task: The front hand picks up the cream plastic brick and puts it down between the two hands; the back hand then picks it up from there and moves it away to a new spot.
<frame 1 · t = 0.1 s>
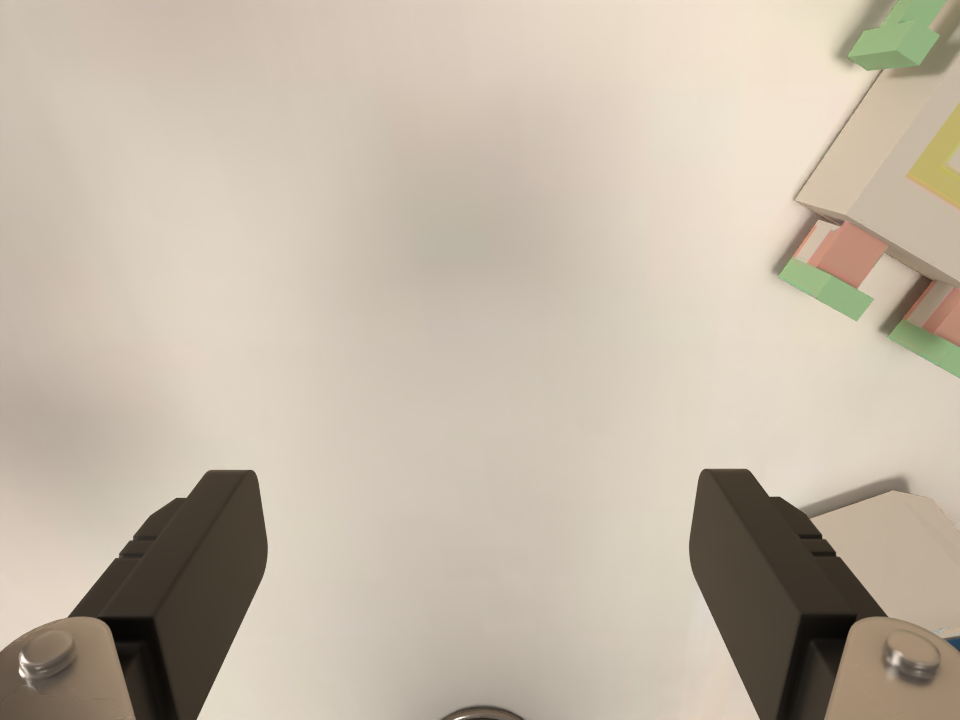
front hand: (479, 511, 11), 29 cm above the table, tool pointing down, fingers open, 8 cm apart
electronic device: (829, 539, 47), on the table
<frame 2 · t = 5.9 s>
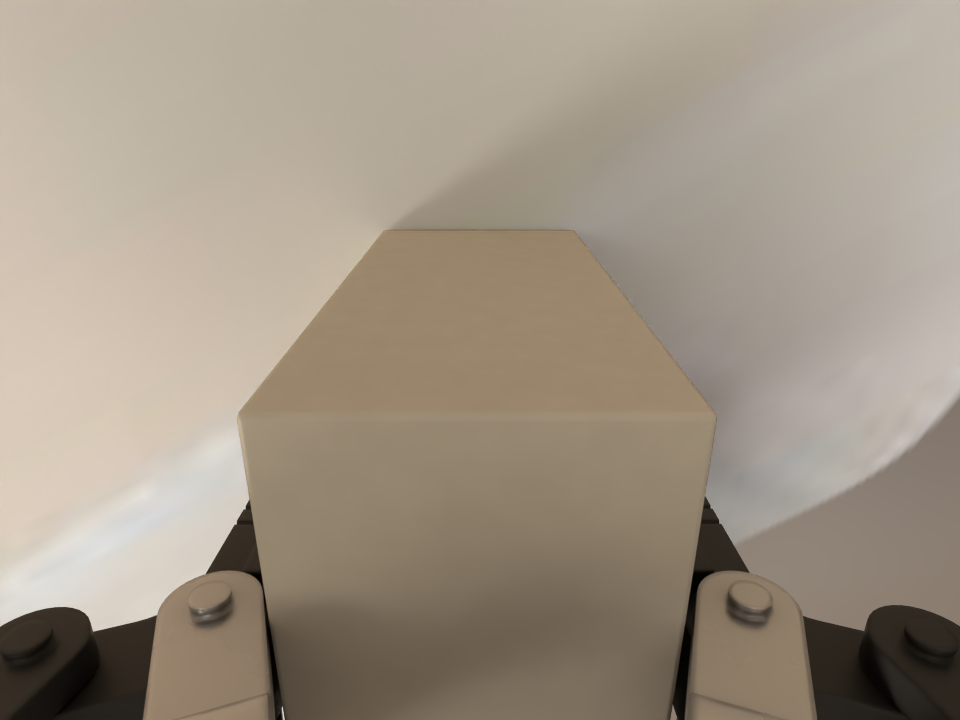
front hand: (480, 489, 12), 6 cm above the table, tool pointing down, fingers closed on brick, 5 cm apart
brick: (479, 369, 18), on the table, touching front hand
when the front hand's fingers open (8 cm above the table, at t = 13.4 s): brick drops 2 cm, on the table.
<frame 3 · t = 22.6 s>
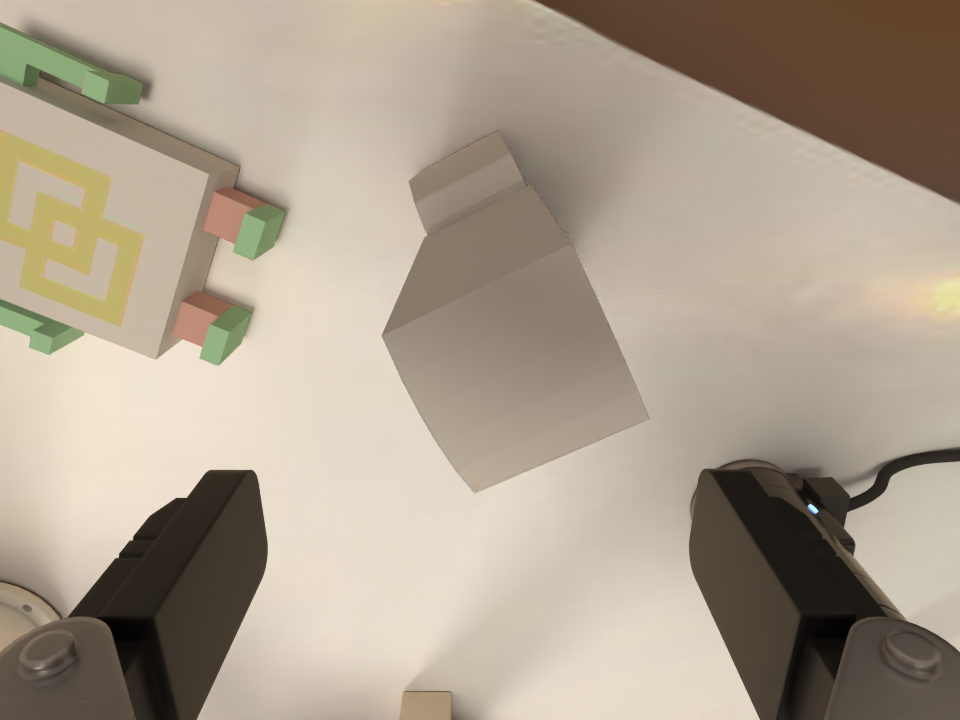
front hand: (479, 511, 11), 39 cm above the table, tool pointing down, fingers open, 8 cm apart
brick: (428, 718, 67), on the table, touching back hand
decorative block: (104, 207, 48), on the table
electronic device: (492, 228, 48), on the table
when the back hand's fingers open (7 cm above the table, at t = 35.3 s): brick drops 1 cm, on the table.
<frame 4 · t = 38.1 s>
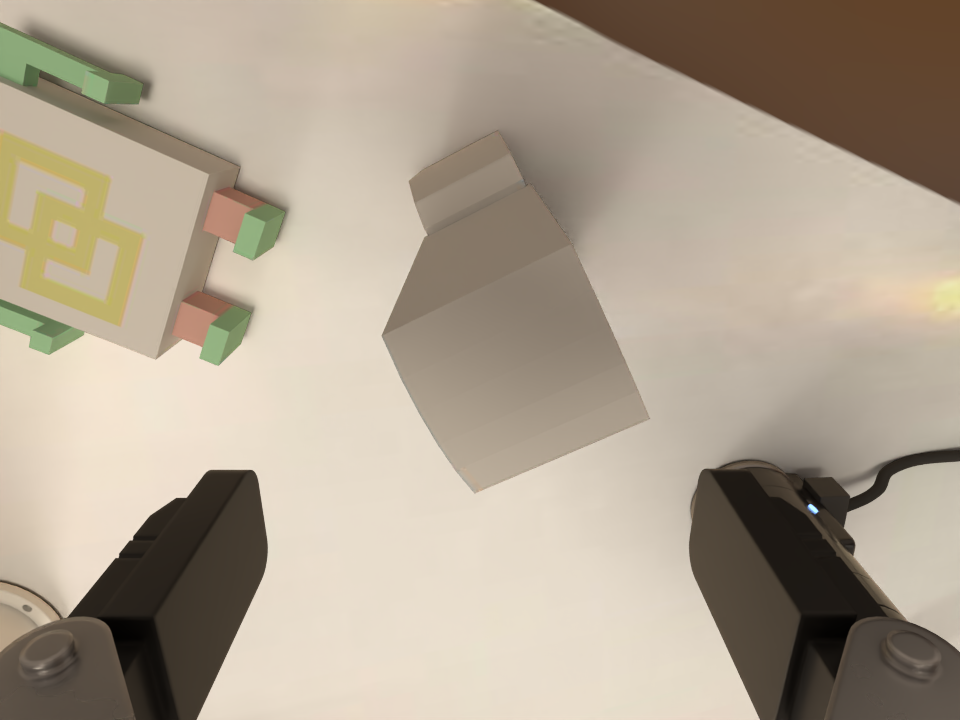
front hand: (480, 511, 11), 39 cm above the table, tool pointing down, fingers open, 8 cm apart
decorative block: (104, 207, 48), on the table
electronic device: (492, 228, 48), on the table
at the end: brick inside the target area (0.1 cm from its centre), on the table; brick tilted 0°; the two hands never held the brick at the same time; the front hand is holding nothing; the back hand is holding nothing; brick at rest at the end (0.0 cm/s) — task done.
